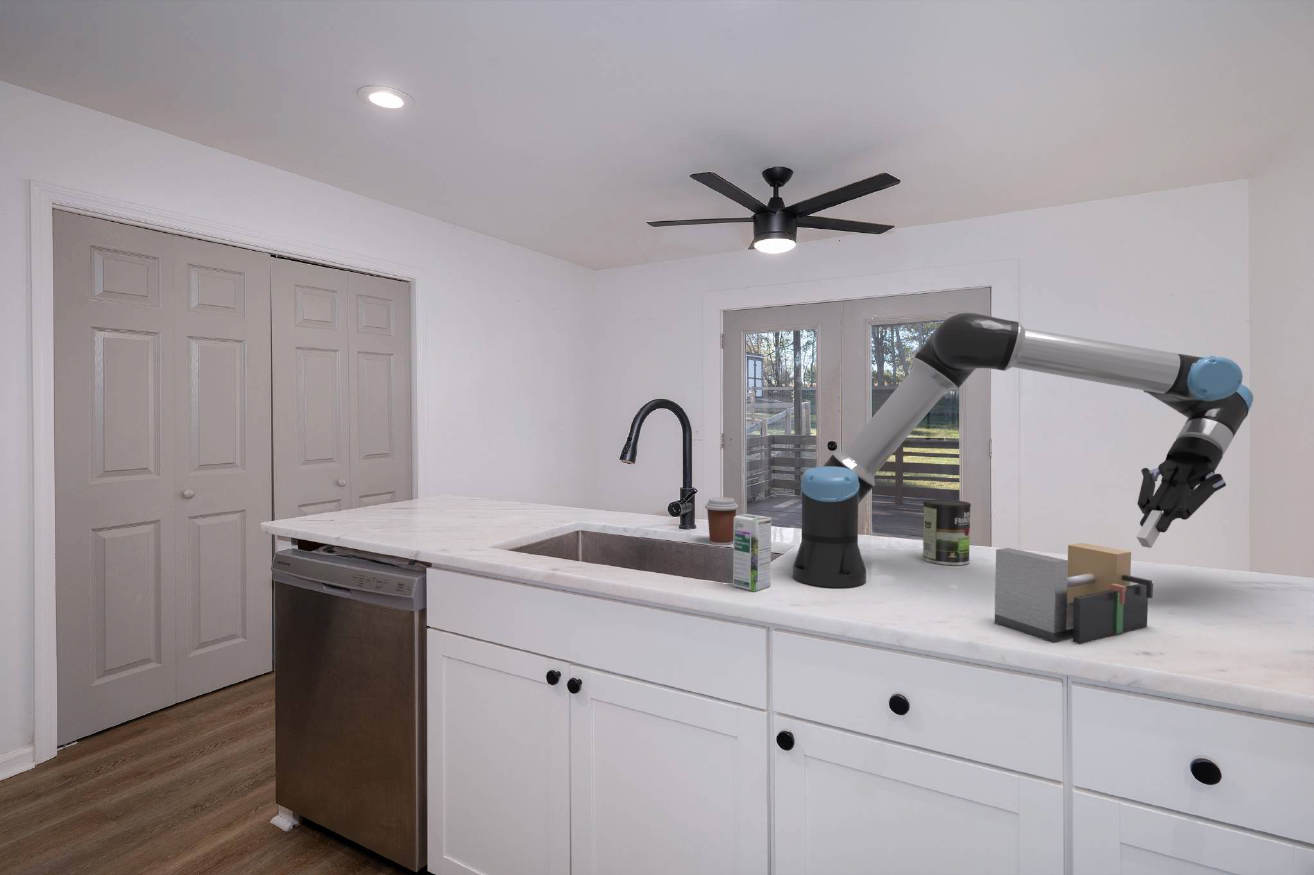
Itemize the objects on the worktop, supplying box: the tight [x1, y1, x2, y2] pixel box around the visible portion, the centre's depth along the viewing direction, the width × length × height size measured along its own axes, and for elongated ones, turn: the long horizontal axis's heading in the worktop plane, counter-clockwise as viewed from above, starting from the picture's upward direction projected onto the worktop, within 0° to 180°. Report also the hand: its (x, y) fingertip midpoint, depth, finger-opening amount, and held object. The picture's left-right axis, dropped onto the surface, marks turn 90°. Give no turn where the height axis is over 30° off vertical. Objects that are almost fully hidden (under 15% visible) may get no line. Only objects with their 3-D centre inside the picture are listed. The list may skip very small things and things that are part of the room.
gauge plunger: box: [1067, 542, 1154, 602], centre depth 105 cm, size 10×12×10 cm
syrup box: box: [732, 513, 772, 593], centre depth 127 cm, size 6×6×14 cm
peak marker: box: [1111, 584, 1126, 604], centre depth 98 cm, size 1×2×3 cm, turn 25°
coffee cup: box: [704, 496, 740, 546], centre depth 169 cm, size 9×9×12 cm
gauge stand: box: [994, 547, 1149, 645], centre depth 104 cm, size 22×12×12 cm, turn 115°
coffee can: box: [922, 499, 972, 566], centre depth 148 cm, size 10×10×14 cm
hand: (1143, 542), depth 112 cm, fingers closed
